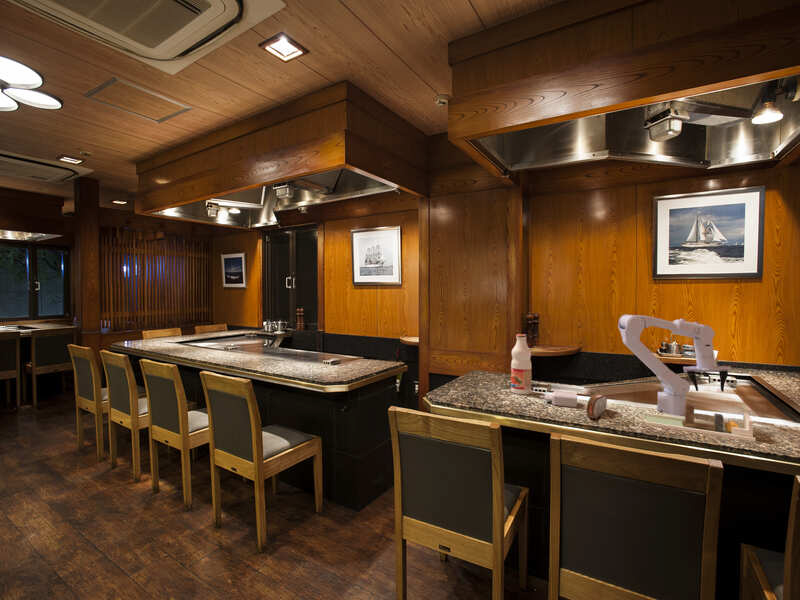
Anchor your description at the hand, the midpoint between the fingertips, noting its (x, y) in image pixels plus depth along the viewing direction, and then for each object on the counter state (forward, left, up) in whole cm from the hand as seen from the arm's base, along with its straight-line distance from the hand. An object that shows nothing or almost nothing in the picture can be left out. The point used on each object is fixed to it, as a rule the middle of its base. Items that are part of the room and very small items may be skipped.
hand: (709, 390), depth 153 cm
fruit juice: (-72, -1, -11) cm, 73 cm away
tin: (-36, -22, -11) cm, 44 cm away
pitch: (-5, -22, -11) cm, 25 cm away
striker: (-4, -22, -9) cm, 24 cm away
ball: (+4, -22, -7) cm, 24 cm away
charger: (-53, -11, -11) cm, 55 cm away
